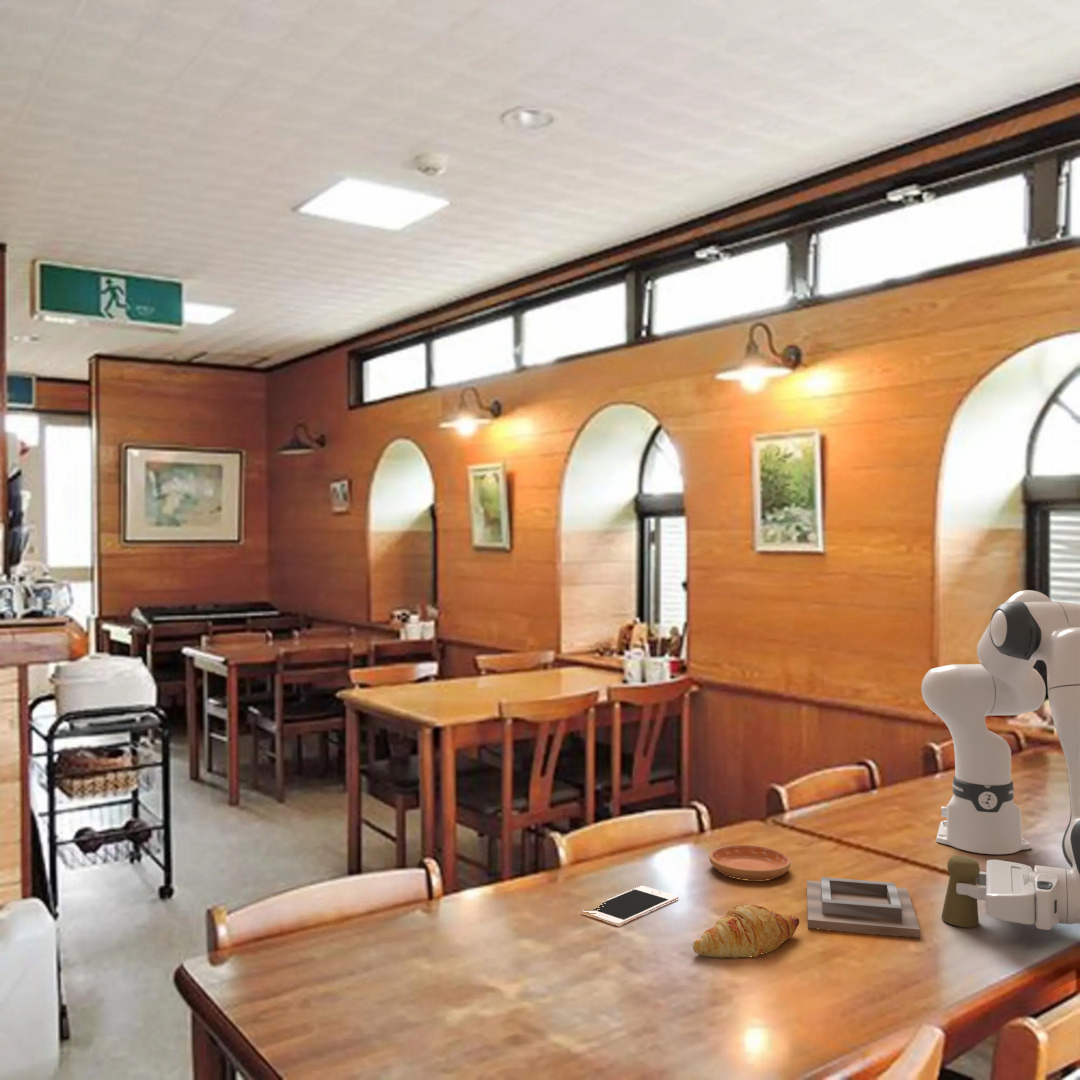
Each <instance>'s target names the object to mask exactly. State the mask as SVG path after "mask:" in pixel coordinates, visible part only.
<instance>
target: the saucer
mask: <svg viewBox="0 0 1080 1080" xmlns="http://www.w3.org/2000/svg"><path fill="white" fill-rule="evenodd" d="M708 858H709V862H710V863H711V865H712V866H713V867H714V868H715V870H717V871H718V872H719V873H720V872H721V873H722V874H721V873H720V874H721V875H723V874H724V875H723V876H725V875H727V876H731V877H735V878H740V879H748V880H766V879H773V878H776V877H778V878H780V877H781V876H783V875H784V874H785V873H786V872H787V871H789V869H790V868H791V864H792V863H791V862H792V861H791V858H790V857H789V856H788V855H787V854H786V853H784V852H781V851H779V850H776V849H773V848H770V847H769V848H768V847H765V846H760V845H747V844H732V845H726V846H720V847H717V848H714V849H713V850H711V851H710V853H709V857H708ZM727 876H726V877H727ZM779 876H780V877H779ZM776 879H777V878H776ZM773 880H774V879H773Z"/></svg>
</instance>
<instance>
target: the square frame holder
mask: <svg viewBox="0 0 1080 1080" xmlns="http://www.w3.org/2000/svg"><path fill="white" fill-rule="evenodd" d="M806 905H807V910H806V911H807V929H809V928H819V929H818V930H820V929H830V930H829V931H831V930H836V931H835V932H843V931H846V932H845V933H854V932H855V934H868V935H876V934H879V936H887V935H891V936H890V937H898V936H906V937H905V938H909V937H915V938H914V939H920V937H921V936H920V934H921V932H920V931H921V929H920V926H919V923H918V919H917V916H916V912H915V910H914V906H913V903H912V899H911V896H910V893H909V889H908V888H907V887H897V886H896V883H895V882H891V881H890V882H889V881H877V880H866V879H865V880H863V879H853V878H852V879H850V878H839V877H824V876H820V881H818V880H806Z"/></svg>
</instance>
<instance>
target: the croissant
mask: <svg viewBox="0 0 1080 1080" xmlns="http://www.w3.org/2000/svg"><path fill="white" fill-rule="evenodd" d="M799 925H800V919H799V917H796V916H795V915H792V914H791V915H787V914H784V913H779V912H777V913H776V912H775V911H772V910H768V909H767V908H765V907H764V906H759V905H756V904H748V903H746V904H743V905H736V906H734V907H732V908H731V909H729V910H728V911H727V912H726V914H725V916H722V917H721V916H720V918H719V919H717V921H716V922H715V925H714V926H713V927H712V928H709V929H707V930H705V931H704V932H703V934H702V935H701V936H700V937H701V938H700V939H696V940H694V941H693V945H692V949H693V952H694V953H695V954H697V955H699V956H702V957H708V958H709V957H710V958H719V957H720V958H723V959H725V957H733V958H732V959H739V958H738V957H750V956H753V957H755V958H757V957H758V956H760V955H762V954H761V953H766V952H769V953H771V952H773V951H775V950H777V949H778V948H779V947H780V946H781V945H782V944H784V943H785V942H786V941H788V940H789V939H790V938H792V937H793V936H794V935H795V932H797V931H796V930H797V928H798V926H799ZM770 951H771V952H770ZM766 954H767V953H766ZM753 957H752V958H753ZM720 958H719V959H720Z"/></svg>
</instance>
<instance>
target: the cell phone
mask: <svg viewBox="0 0 1080 1080" xmlns="http://www.w3.org/2000/svg"><path fill="white" fill-rule="evenodd" d="M639 886H640V887H639ZM639 886H637V887H638V888H637V887H634V888H632V889H633V890H632V889H630V891H629V890H627V891H625V892H623V893H620V894H616V895H615V896H613V897H611V898H608V899H607V900H608V901H605V900H604V901H605V902H603V901H602V902H603V903H602V904H603V905H600V906H599V907H600V908H596V909H592V910H597V909H600V910H598V911H583V912H589V913H596V914H591V915H594V916H597V917H599V918H601V919H604V920H607V921H610V922H612V923H615V924H620V923H623V922H625V921H627V920H630V919H632V918H634V917H636V916H639V915H641V914H643V913H646V912H648V911H651V910H653V909H655V908H658V907H660V906H662V905H664V904H667V903H669V902H672V901H674V900H676V899H678V898H679V899H680V897H679V895H676V894H673V893H670V892H669V893H668V892H665V891H663V890H660V889H655V888H653V887H649V886H646V885H639ZM604 903H606V904H604ZM602 906H604V907H602Z"/></svg>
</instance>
